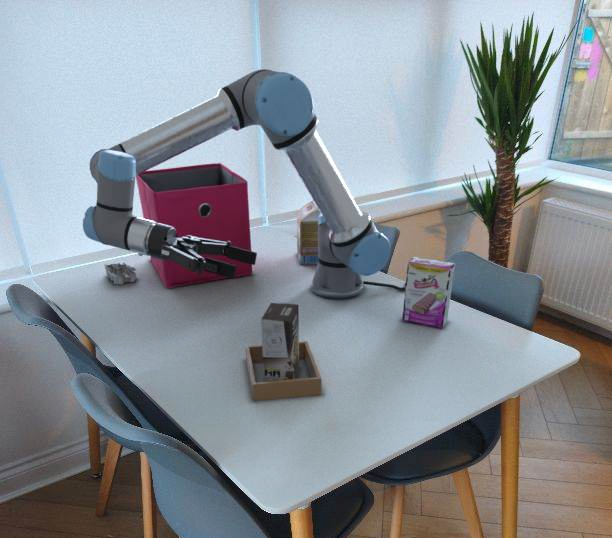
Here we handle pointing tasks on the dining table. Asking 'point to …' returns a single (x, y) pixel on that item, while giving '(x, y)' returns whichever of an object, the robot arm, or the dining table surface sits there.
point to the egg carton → (120, 273)
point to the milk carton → (308, 234)
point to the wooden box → (284, 386)
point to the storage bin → (198, 213)
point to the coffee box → (280, 342)
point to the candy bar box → (428, 292)
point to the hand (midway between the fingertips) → (246, 265)
